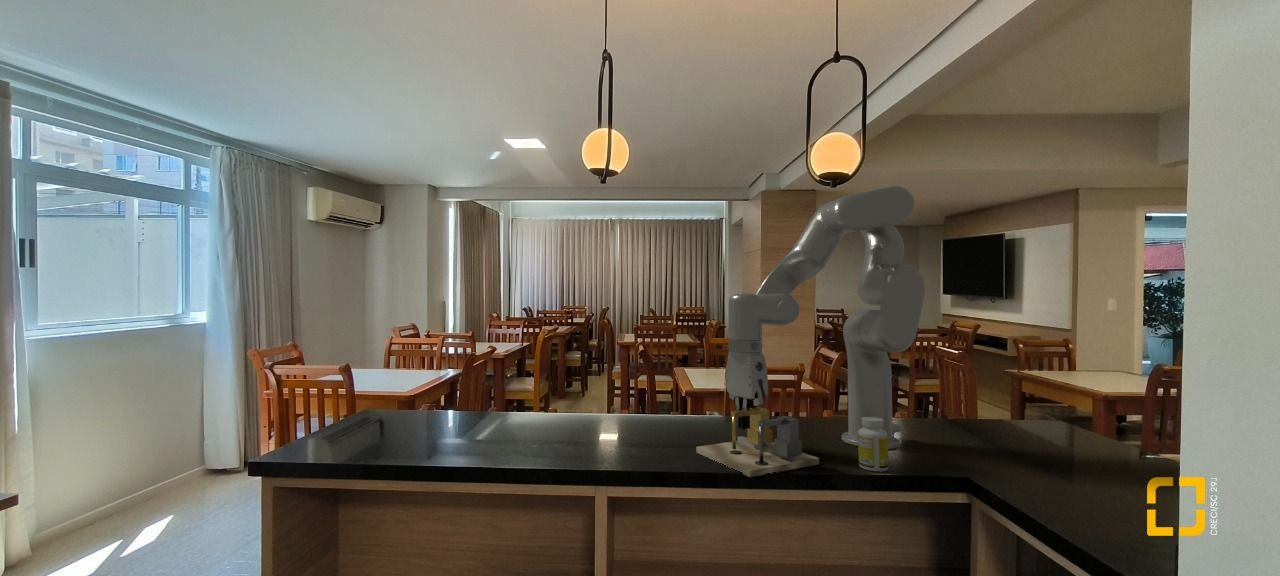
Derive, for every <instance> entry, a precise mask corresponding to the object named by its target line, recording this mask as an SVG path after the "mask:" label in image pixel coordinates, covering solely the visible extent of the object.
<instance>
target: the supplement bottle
mask: <svg viewBox="0 0 1280 576" xmlns="http://www.w3.org/2000/svg"><path fill="white" fill-rule="evenodd" d="M861 423H862V426H863V428H860V429H859V430H858V446H857V447H858V448H857V451H858V454H857V455H858V465H859V467H860V468H862V469H863V470H866V471H868V472H878V473H879V472H881V473H882V472H886V471H888V470H889V449H888V436H887V432H886V431H884V430H883V429H882V427H883V425H884V424H883V419H881V418H877V417H862V418H861Z"/></svg>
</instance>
